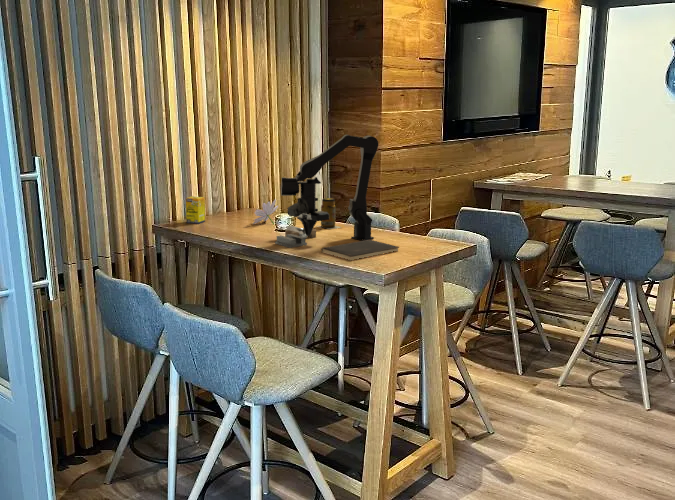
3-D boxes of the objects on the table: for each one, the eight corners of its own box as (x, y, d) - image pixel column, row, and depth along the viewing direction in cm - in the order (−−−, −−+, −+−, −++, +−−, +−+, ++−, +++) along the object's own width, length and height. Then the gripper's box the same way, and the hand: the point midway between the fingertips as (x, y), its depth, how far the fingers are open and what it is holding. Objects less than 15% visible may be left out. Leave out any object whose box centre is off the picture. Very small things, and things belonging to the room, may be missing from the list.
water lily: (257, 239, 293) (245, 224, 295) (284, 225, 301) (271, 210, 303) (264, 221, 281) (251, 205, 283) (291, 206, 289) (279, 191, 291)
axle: (309, 236, 263) (306, 227, 261) (302, 241, 261) (298, 232, 259) (295, 232, 270) (292, 223, 268) (287, 237, 268) (284, 228, 266)
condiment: (329, 224, 292) (329, 197, 289) (342, 227, 286) (342, 199, 283) (316, 226, 288) (316, 198, 285) (328, 229, 281) (328, 201, 278)
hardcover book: (399, 253, 244) (399, 246, 243) (351, 262, 229) (351, 255, 229) (368, 245, 256) (368, 239, 255) (321, 253, 241) (321, 247, 240)
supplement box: (186, 223, 291) (185, 198, 289) (193, 220, 297) (192, 196, 294) (198, 224, 290) (197, 198, 287) (205, 221, 295) (204, 196, 293)
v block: (306, 244, 252) (306, 237, 252) (289, 247, 247) (289, 240, 246) (292, 240, 259) (292, 233, 258) (275, 243, 254) (275, 236, 253)
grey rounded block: (315, 237, 266) (316, 229, 265) (294, 240, 259) (294, 233, 258) (306, 234, 270) (306, 227, 269) (285, 238, 263) (285, 230, 263)
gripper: (276, 194, 259) (276, 234, 262) (307, 200, 245) (307, 242, 249) (299, 192, 266) (299, 231, 269) (330, 197, 252) (330, 238, 256)
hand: (308, 235), depth 261 cm, fingers closed
